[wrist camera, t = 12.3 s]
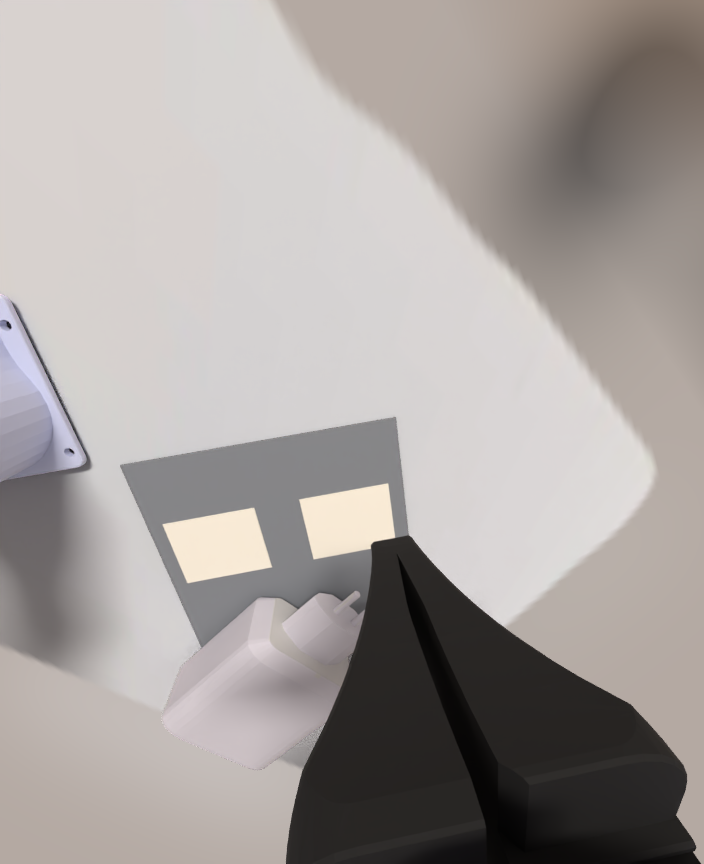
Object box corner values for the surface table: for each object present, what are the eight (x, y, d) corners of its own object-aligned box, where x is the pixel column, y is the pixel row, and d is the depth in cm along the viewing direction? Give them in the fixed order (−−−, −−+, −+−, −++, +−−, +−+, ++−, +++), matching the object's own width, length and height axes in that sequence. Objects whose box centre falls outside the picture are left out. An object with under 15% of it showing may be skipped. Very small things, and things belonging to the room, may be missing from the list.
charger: (403, 602, 26) (274, 704, 28) (317, 537, 23) (183, 657, 26) (420, 663, 21) (266, 776, 24) (317, 591, 19) (155, 729, 21)
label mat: (120, 465, 20) (119, 466, 20) (395, 417, 21) (396, 417, 20) (210, 665, 26) (209, 667, 26) (418, 623, 27) (418, 625, 27)
